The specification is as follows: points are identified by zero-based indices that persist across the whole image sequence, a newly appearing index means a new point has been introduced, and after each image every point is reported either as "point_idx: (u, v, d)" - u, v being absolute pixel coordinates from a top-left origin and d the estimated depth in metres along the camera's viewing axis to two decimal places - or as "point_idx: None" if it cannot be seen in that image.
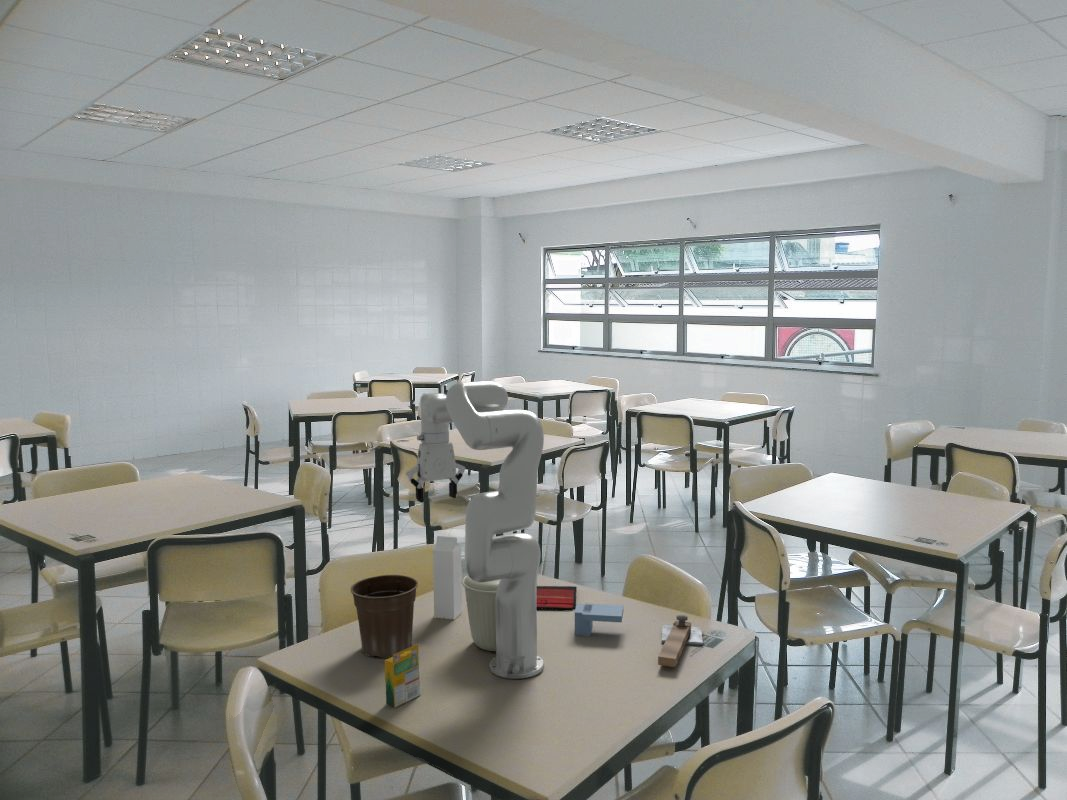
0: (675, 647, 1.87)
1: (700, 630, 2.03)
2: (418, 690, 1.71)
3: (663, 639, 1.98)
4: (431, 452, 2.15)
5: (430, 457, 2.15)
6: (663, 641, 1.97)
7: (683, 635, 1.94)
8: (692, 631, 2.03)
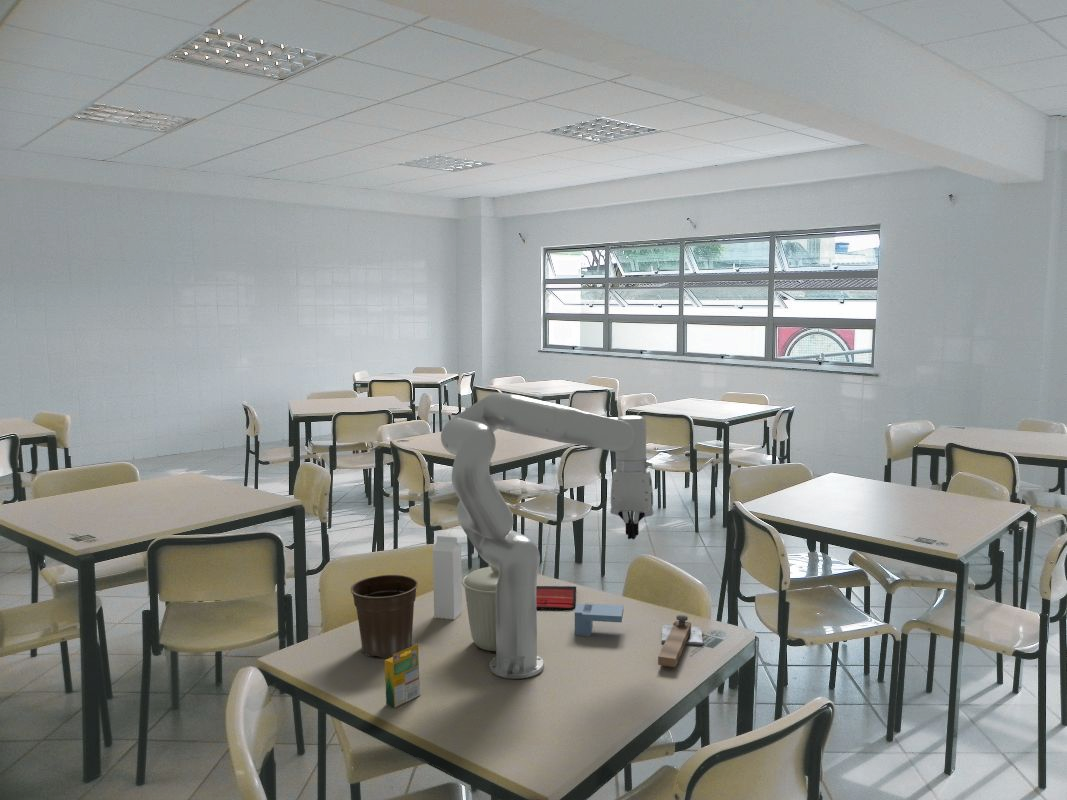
0: (675, 647, 1.87)
1: (700, 630, 2.03)
2: (418, 690, 1.71)
3: (663, 639, 1.98)
4: None
5: None
6: (663, 641, 1.97)
7: (683, 635, 1.94)
8: (692, 631, 2.03)
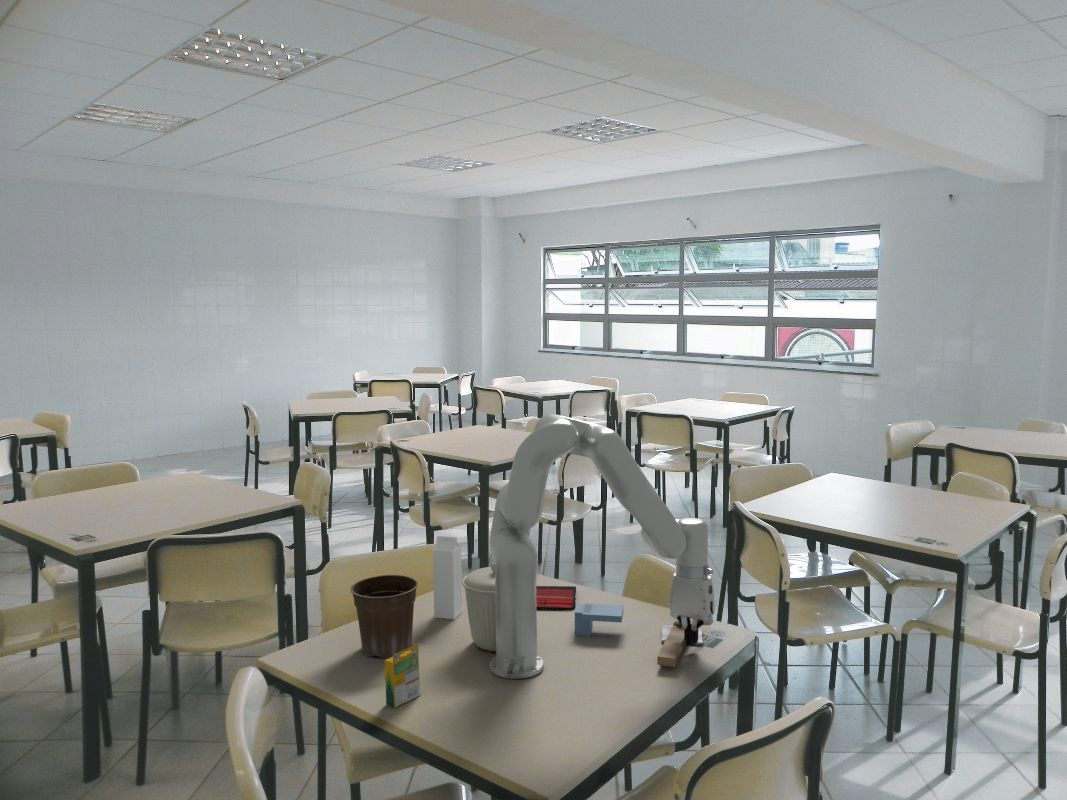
0: (674, 647, 1.87)
1: (700, 630, 2.03)
2: (418, 690, 1.71)
3: (663, 639, 1.98)
4: None
5: None
6: (663, 641, 1.97)
7: (683, 635, 1.94)
8: None
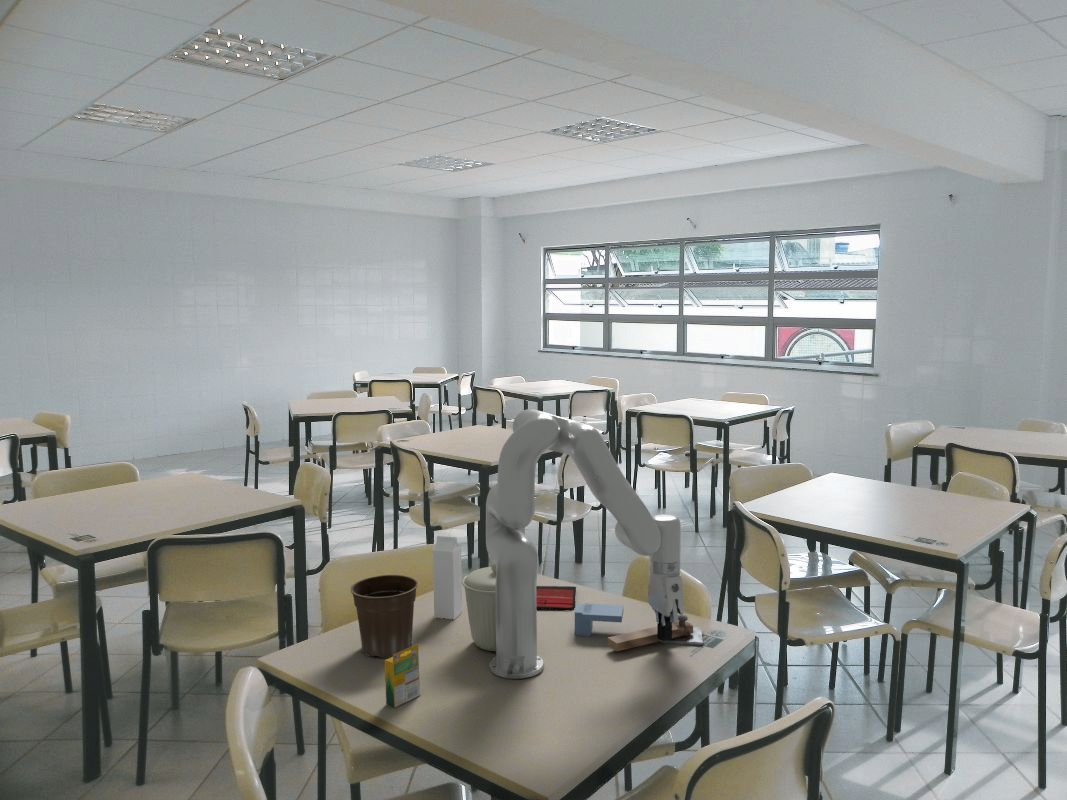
0: (634, 636, 1.93)
1: (700, 630, 2.03)
2: (418, 690, 1.71)
3: None
4: None
5: None
6: (663, 641, 1.97)
7: None
8: None
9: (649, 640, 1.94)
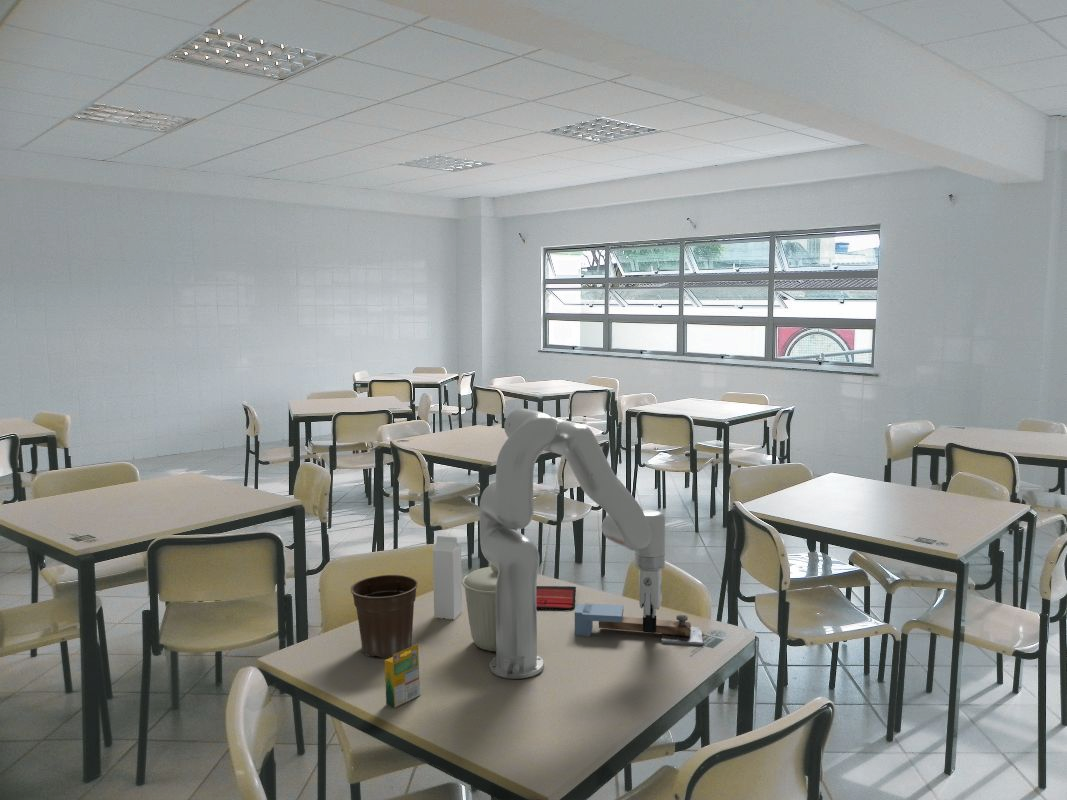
0: (622, 620, 2.04)
1: (700, 630, 2.03)
2: (418, 690, 1.71)
3: (663, 639, 1.98)
4: (659, 577, 1.95)
5: (659, 582, 1.95)
6: (663, 641, 1.97)
7: None
8: (692, 631, 2.03)
9: (635, 628, 2.02)
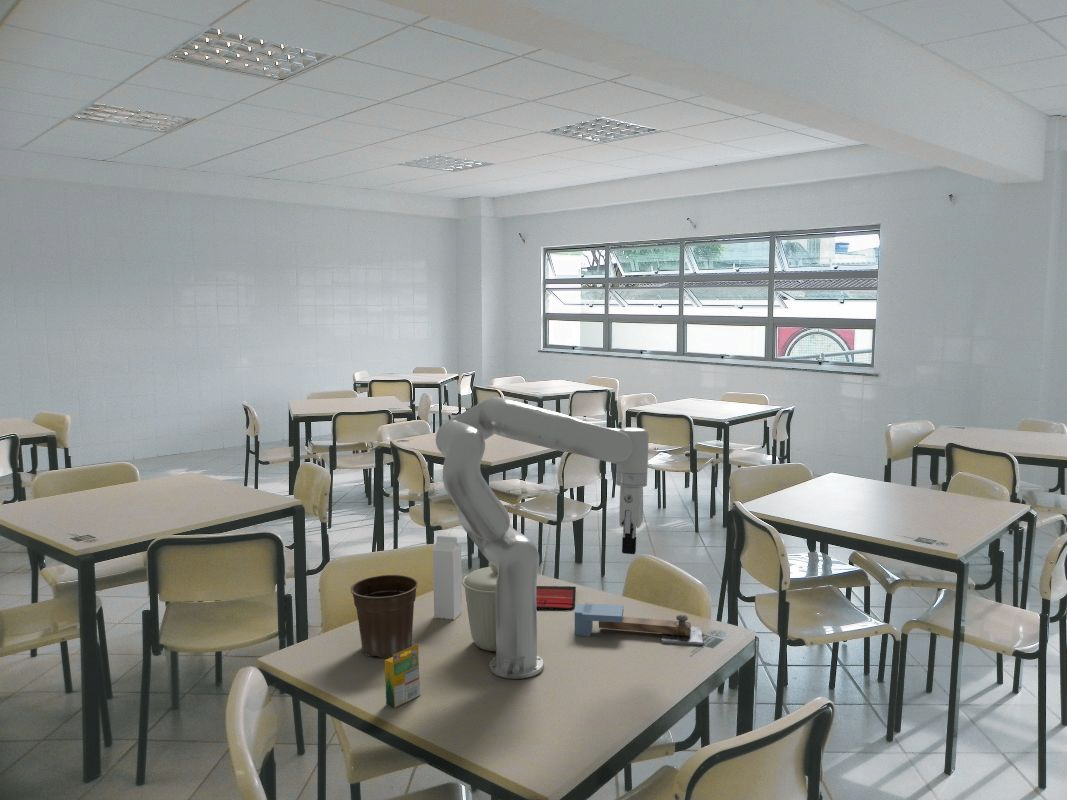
0: (622, 620, 2.04)
1: (700, 630, 2.03)
2: (418, 690, 1.71)
3: (663, 639, 1.98)
4: (641, 495, 1.90)
5: (640, 500, 1.89)
6: (663, 641, 1.97)
7: (653, 624, 2.01)
8: (692, 631, 2.03)
9: (635, 628, 2.02)
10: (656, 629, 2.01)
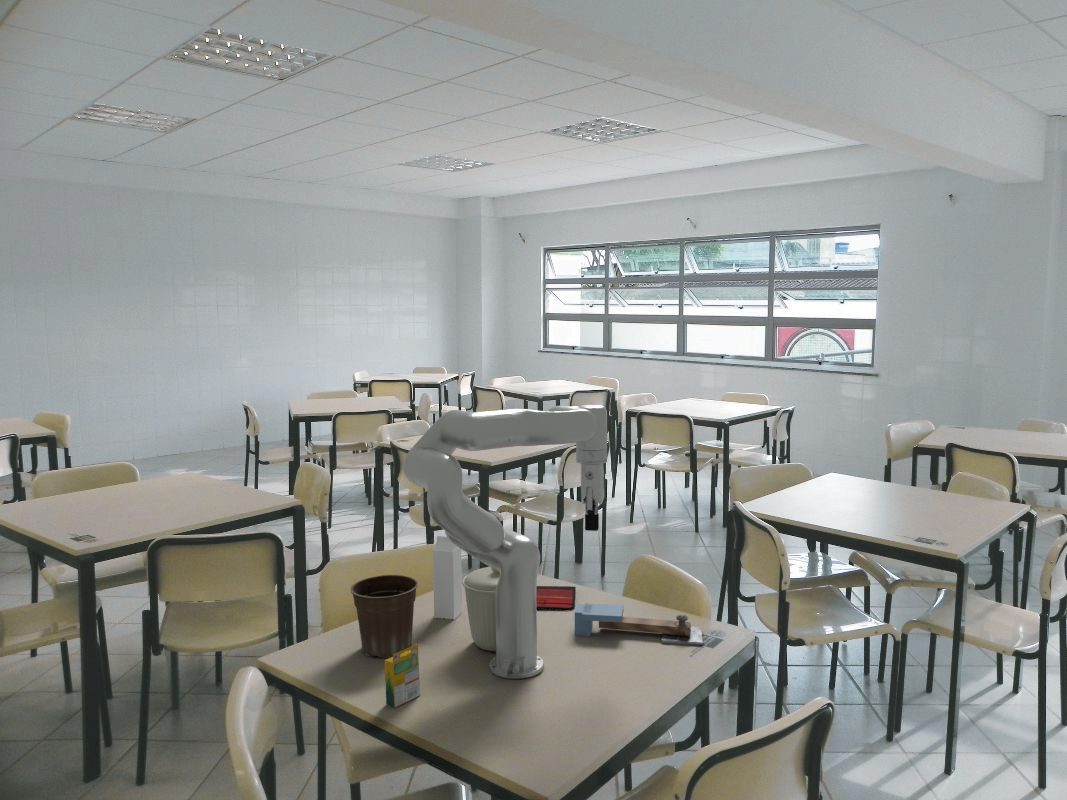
0: (622, 620, 2.04)
1: (700, 630, 2.03)
2: (418, 690, 1.71)
3: (663, 639, 1.98)
4: (601, 471, 1.90)
5: (601, 477, 1.90)
6: (663, 641, 1.97)
7: (653, 624, 2.01)
8: (692, 631, 2.03)
9: (635, 628, 2.02)
10: (656, 629, 2.01)
